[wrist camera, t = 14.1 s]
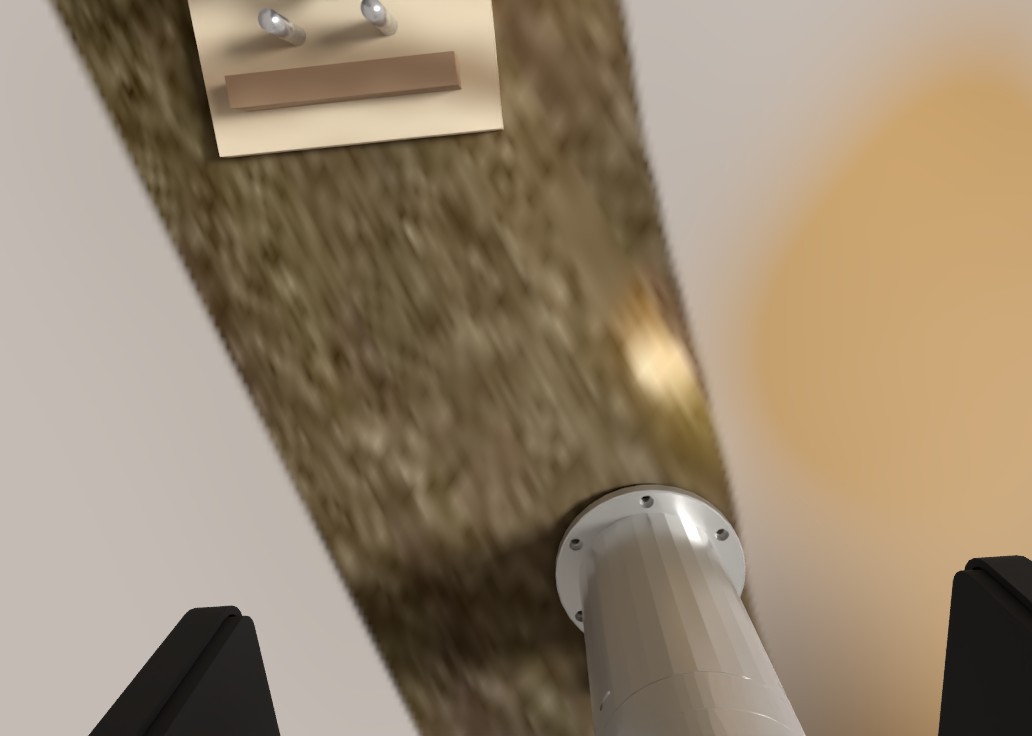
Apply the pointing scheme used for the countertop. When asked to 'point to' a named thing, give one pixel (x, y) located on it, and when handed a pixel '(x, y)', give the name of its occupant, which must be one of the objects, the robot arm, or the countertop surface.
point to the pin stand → (345, 71)
